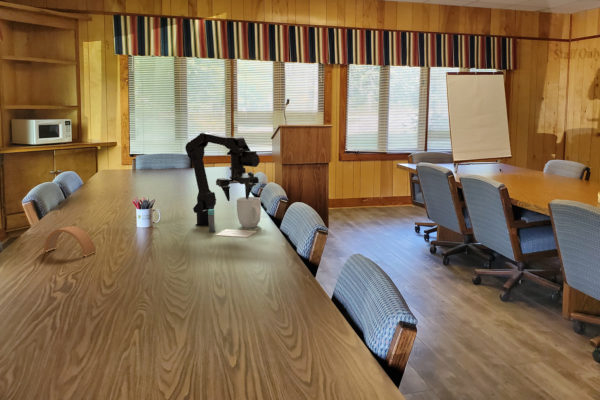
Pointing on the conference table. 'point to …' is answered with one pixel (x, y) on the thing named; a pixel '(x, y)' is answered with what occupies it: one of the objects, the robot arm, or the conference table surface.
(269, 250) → the conference table surface
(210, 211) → the marker
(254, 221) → the mug
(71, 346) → the conference table surface
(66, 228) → the arch
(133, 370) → the conference table surface
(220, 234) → the paper
